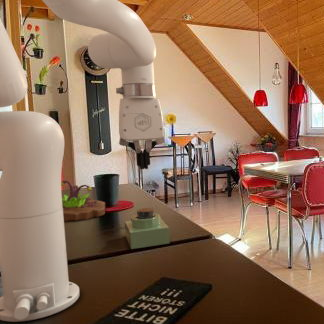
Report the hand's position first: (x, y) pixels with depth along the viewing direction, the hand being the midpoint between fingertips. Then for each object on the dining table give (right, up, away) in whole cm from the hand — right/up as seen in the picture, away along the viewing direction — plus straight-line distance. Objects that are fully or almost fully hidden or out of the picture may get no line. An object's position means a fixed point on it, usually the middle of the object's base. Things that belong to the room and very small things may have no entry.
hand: (143, 168), depth 95 cm
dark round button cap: (0, -12, +1) cm, 12 cm away
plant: (-31, -16, +30) cm, 46 cm away
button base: (0, -18, +2) cm, 18 cm away
